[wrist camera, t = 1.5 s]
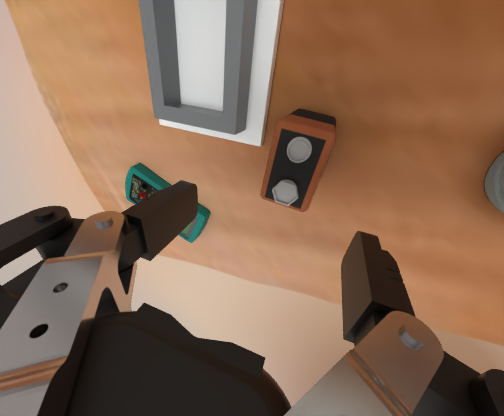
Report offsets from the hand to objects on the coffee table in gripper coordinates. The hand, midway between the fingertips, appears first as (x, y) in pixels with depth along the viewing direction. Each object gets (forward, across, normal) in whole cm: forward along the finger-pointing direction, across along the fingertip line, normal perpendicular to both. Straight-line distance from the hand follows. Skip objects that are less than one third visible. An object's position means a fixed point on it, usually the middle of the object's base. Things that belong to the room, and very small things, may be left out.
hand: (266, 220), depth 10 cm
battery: (+16, 0, 0) cm, 16 cm away
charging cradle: (+16, +12, -7) cm, 21 cm away
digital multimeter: (+17, +20, +14) cm, 30 cm away
